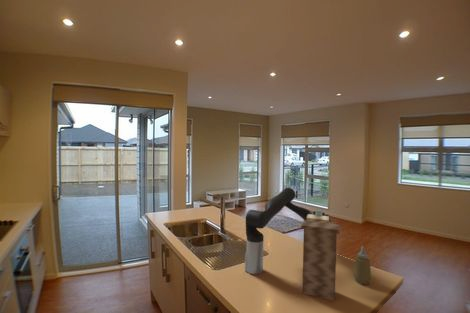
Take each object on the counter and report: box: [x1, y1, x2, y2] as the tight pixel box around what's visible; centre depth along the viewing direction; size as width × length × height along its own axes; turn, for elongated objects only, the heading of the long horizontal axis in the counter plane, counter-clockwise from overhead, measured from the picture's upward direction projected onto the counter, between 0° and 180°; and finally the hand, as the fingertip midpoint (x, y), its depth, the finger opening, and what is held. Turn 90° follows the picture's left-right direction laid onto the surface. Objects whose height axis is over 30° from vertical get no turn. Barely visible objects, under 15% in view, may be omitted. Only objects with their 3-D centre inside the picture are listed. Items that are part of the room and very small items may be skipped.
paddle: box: [306, 210, 330, 223], centre depth 132 cm, size 11×18×4 cm, turn 158°
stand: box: [301, 219, 340, 302], centre depth 112 cm, size 16×9×32 cm, turn 68°
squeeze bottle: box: [353, 246, 372, 285], centre depth 123 cm, size 8×8×18 cm
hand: (318, 213), depth 136 cm, fingers closed on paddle, 3 cm apart
